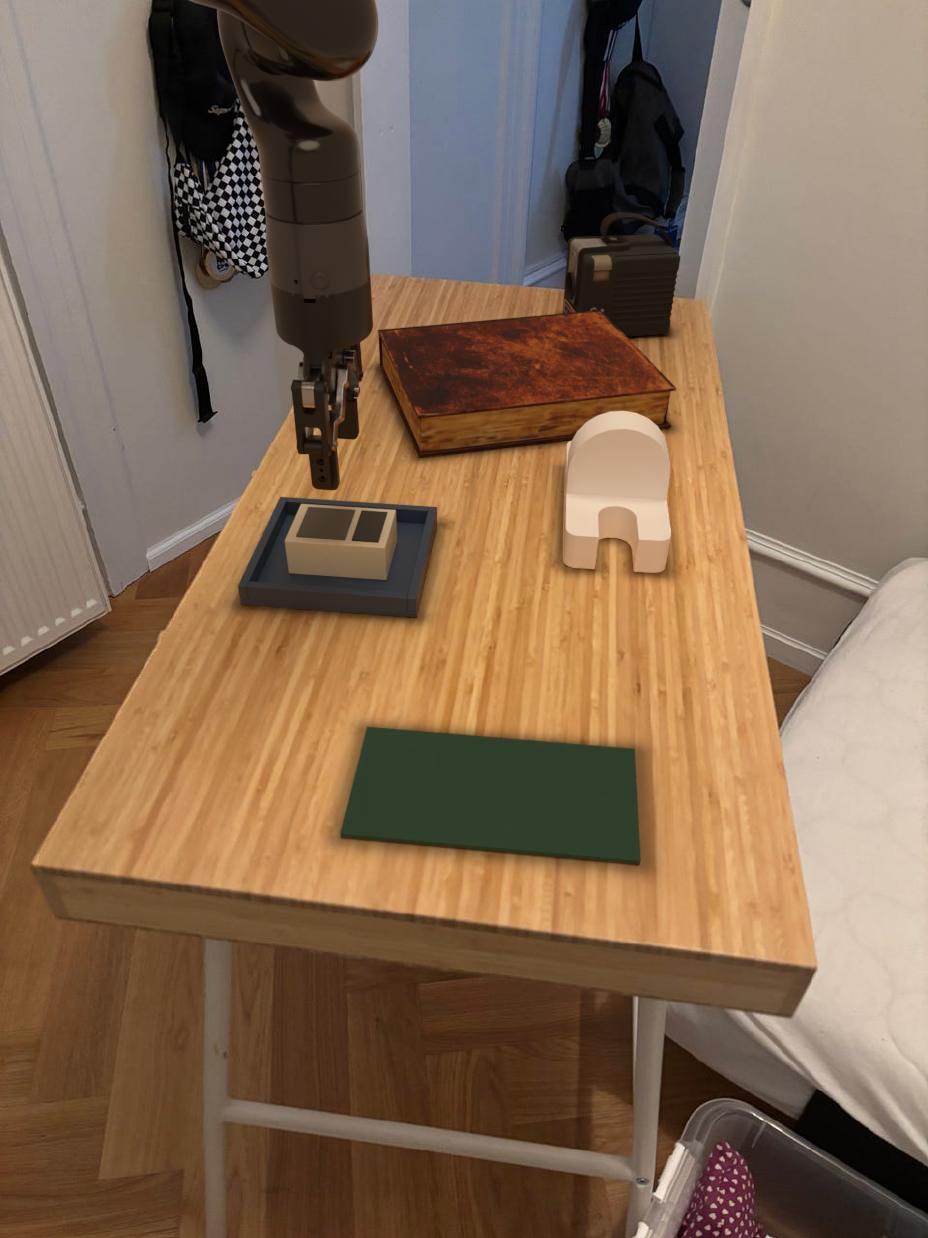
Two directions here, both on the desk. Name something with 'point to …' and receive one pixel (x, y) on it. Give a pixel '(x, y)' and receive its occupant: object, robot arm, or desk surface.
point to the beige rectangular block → (342, 541)
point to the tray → (392, 597)
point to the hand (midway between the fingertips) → (337, 461)
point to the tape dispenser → (617, 490)
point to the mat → (495, 795)
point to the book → (516, 380)
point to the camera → (623, 278)
